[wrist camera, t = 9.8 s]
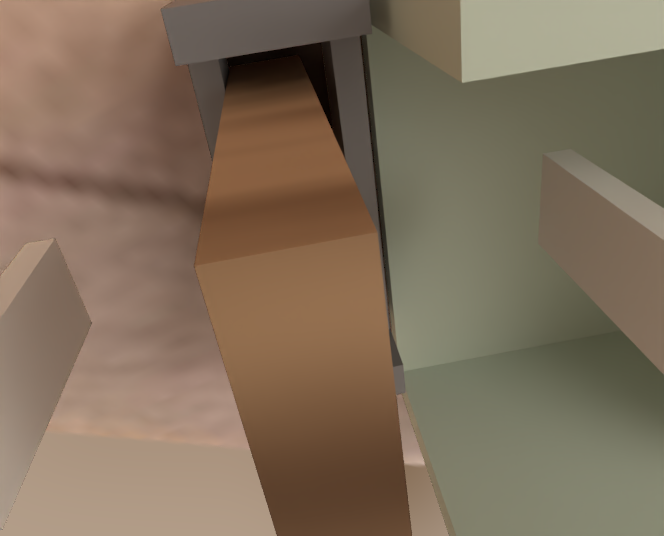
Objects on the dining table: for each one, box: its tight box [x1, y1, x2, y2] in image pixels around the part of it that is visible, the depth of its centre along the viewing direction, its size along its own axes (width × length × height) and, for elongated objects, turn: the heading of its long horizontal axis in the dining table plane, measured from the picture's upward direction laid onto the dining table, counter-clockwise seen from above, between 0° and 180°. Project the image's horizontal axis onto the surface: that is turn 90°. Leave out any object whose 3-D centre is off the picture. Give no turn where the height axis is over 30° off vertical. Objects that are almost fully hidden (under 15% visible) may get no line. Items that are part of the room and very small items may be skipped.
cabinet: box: [161, 0, 664, 536], centre depth 17 cm, size 16×17×10 cm
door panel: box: [194, 55, 412, 536], centre depth 14 cm, size 8×3×13 cm, turn 8°
